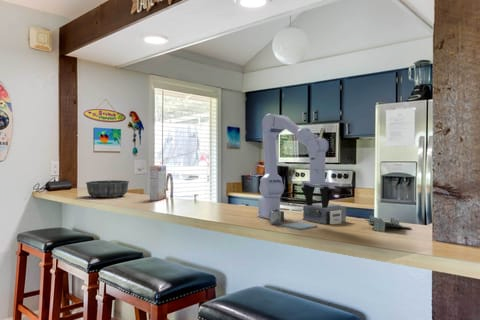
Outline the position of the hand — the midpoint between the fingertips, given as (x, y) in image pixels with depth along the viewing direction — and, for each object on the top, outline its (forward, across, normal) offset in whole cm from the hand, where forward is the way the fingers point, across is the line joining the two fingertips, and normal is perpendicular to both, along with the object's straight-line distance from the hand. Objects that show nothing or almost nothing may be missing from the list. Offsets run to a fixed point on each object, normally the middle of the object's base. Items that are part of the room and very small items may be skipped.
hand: (317, 206), depth 135 cm
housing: (+7, -7, +12) cm, 16 cm away
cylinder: (+8, -12, -10) cm, 17 cm away
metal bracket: (+8, +17, +18) cm, 26 cm away
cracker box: (+8, -115, -15) cm, 116 cm away
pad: (+7, -3, -6) cm, 10 cm away
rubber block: (+8, -17, -5) cm, 19 cm away
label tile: (+7, 0, +10) cm, 12 cm away
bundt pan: (+8, -147, -36) cm, 152 cm away
